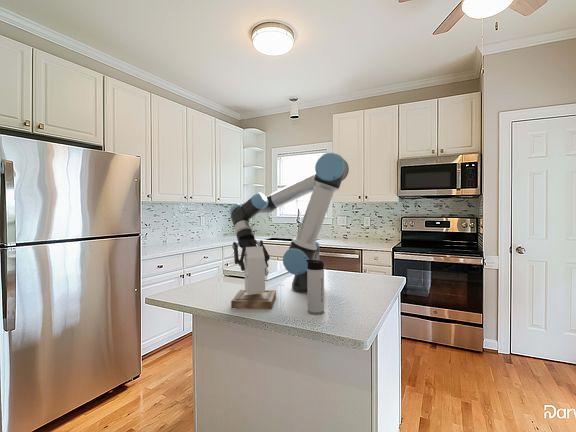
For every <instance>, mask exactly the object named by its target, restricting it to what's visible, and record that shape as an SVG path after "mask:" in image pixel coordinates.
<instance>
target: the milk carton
mask: <svg viewBox="0 0 576 432" xmlns="http://www.w3.org/2000/svg"><path fill="white" fill-rule="evenodd" d="M243 261H245V262H246V265H247V269H248V272H249V276H248V278H247V279H246V277H245V276H244V290H245V291H246V292H247V293H248V295H250V294H260V293H265V290H266V276H265V256H264V252H263V246H259V247H258V246H257V247H246V251H245V255H244V260H243Z"/></svg>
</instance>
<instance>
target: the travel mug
mask: <svg viewBox="0 0 576 432" xmlns="http://www.w3.org/2000/svg"><path fill="white" fill-rule="evenodd" d="M306 262H308V264H307V266H308V267H307V294H306V295H307V313H308V314H310V315H313V316H319V315H322V314H324V313H325V267H324V265H325V263H324V262H323V260H319V261H318V260H306Z"/></svg>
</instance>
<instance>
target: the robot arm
mask: <svg viewBox="0 0 576 432" xmlns="http://www.w3.org/2000/svg"><path fill="white" fill-rule="evenodd" d="M348 164H349V163H348V162H347V161H346V160H345V159H344V158H343V157H342V155H340V154H338V153H334V152H325V153H323V154H322V155H321V156H319V157H318V158H317V160H316V161H315V166H314V170H315V172H314V173H312V174H309V175H307V176H306V177H302V178H301V179H299V180H298V181H295V182H293V183H291V184H289V185H287V186H285V187H283V188H281V189H278V190H277V191H275V192H273V193H270V194H269V195H265V194H264V193H262V192H257V193H256V194H254V195H252V196H251V197H250V198H249V199H247V201H245V202H244V203H243V204H241V203H237V204H235V205H233V206H231V208H230V209H229V214H230V218H231V221H232V225H233V228H234V232H235V236H236V239H237V242H235V241H234V242H232V249H233V258H234V265H238V266H239V267H240V271H242V272H243V273H244V278H245V277H246V279H247V278H248V276H249V272H248V269H247V265H246V262H245V260H244V255H245V251H246V247H259V246H263V252H264V256H265V277H268V275H269V273H270V272H269V269H268V268H269V260H270V258H271V257H270V255H269V253H268V251H267V248H266V247H265V245H264V241H263V239H262V240H260V241H259V240H258V241H257V240H256V238H255V234H254V232H253V228H252V225H251V223H250V221H251V219H252V218H254V217H255V216H256V215H259V214H262V213H266V214H267V213H268V214H269V213H271V212H274V211H275V210H277V208H280V207H282V206H284V205H287V204H288V203H290V202H293V201H295V200H297V199H299V198H301V197H305V195H307V194H310V193H311V196H310V198H309V201H308V204H307V207H306V210H305V213H304V214H303V215H304V216H303V219H302V221H301V224H300V226H299V229H298V233H297V235H296V237H293V238H292V239H291V242H290V245H289V247H288V249H287V250H286V251H285V252H284V254H283V256H282V264H283V266H284V269H285V270H286V271H287V272H288V273H289V274H292V275H294V277H293V279H292V282H291V289H292V290H293V291H294V292H299V293H304V294H305V293H307V267H308V266H307V264H308V262H306V260H318V261H320V243H319V242H317V240H318V236H319V234H320V231H321V229H322V225H323V222H324V221H325V218H326V214H327V212H328V209H329V207H330V204H331V201H332V198H333V196H334V193H335V192H336V191H338V190H340V187H341V184H342V182H343V181H344V180H345V179H346V178H347V177H348V175H349V171H350V170H349V169H350V168H349V165H348ZM239 247H240V248H241V252H240V253H241V255H240V258H239Z"/></svg>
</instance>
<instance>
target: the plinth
mask: <svg viewBox="0 0 576 432" xmlns="http://www.w3.org/2000/svg"><path fill="white" fill-rule="evenodd" d="M276 298H277V290H276V289H265V293H260V294H250V295H248V293H247V292H246V291H245V289H240V290H239V291H238V292H237V293H236V294H235V296H234V297H233V298H232V299H231V301H230V303H231V305H230V306H231V307H230V308H236V309H235V310H237V309H240V310H241V309H242V310H244V309H245V310H249V309H250V310H272V309H273V306H274V303H275V301H276Z"/></svg>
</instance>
